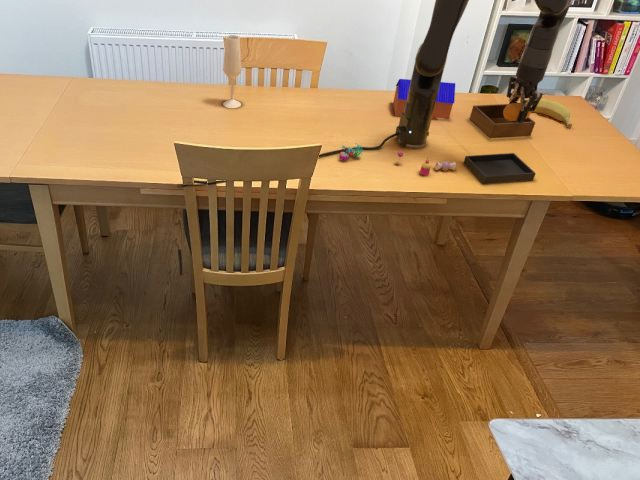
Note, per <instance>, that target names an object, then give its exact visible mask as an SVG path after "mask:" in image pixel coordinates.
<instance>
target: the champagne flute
mask: <svg viewBox="0 0 640 480" xmlns="http://www.w3.org/2000/svg"><path fill="white" fill-rule="evenodd" d="M241 51H242V50H241V37H240V36H239V35H236V34H230V35H229V34H228V35H226V36H225V44H224V54H223V65H222V66H223V67H222V71H223V73H224V74H225V75H226V76H227V77H228V78H229V79H230V98H229V99H228V100H226V101H224V102H223V103H222V105H223V106H224V107H225V108H229V109H237V108H240V107H241V106H242V103H241V102H239V101H238V100H236V99H235V79H236V78H237V77H238V76H240V74H241V73H242V71H243V64H242V63H243V62H242V52H241Z"/></svg>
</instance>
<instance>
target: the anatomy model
mask: <svg viewBox="0 0 640 480" xmlns="http://www.w3.org/2000/svg"><path fill="white" fill-rule="evenodd" d="M355 145H357V146H355V147H356V149H352V148H353V147H351V146H345V145H343V144H342V145H341V146H339V148H341V149H342V150H343V149H344V150H346V151H344V152H339V158H340V160H341V161H347V160H348V159H349V157H350V156H351V157H352V158H358V156H360V155H361V156H362V155H363V151H364V150H363V149H360V147H363V146H362V145H361V144H359V143H357V142H355ZM347 149H348V150H347ZM347 153H348V154H347ZM349 155H350V156H349Z"/></svg>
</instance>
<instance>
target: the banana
mask: <svg viewBox="0 0 640 480" xmlns="http://www.w3.org/2000/svg"><path fill="white" fill-rule="evenodd" d="M532 106H533V105H532ZM532 106H531V107H532ZM532 113H534V114H535V113H536V114H542V115H547V116H549V117H551V118H553V119H556V120H558V121H561V122H564V123H566V128H568V129H570V128H572V126H573V124H572V123H571V122H570V118H571V111H570V109H568V107H567V106H565V105H564V104H562V103H560V102H557V101H554V100H551V99H545V98H541V99H540V101H539V103H538V105H537V107H536V109H535V110H534V111H533V112H532Z"/></svg>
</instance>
